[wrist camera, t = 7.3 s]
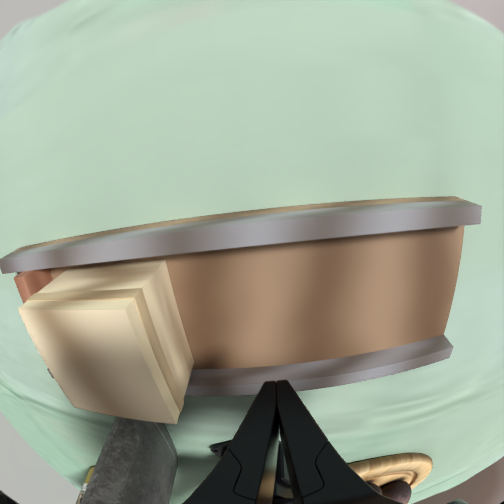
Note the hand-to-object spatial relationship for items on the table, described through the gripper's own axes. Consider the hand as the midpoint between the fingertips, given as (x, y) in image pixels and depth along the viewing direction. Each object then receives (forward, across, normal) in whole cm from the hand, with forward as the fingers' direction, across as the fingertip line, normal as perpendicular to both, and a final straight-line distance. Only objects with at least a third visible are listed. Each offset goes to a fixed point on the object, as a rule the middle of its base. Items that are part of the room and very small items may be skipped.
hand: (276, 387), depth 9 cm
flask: (+7, +13, +16) cm, 22 cm away
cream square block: (+6, +9, 0) cm, 10 cm away
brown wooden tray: (+7, +3, 0) cm, 8 cm away
